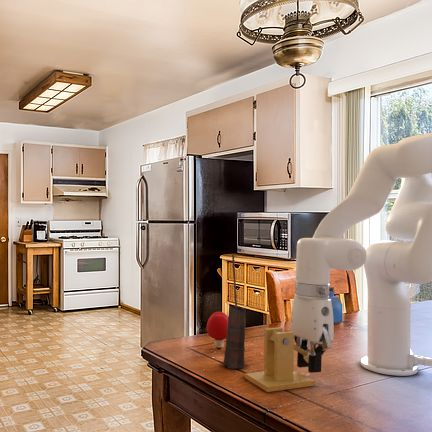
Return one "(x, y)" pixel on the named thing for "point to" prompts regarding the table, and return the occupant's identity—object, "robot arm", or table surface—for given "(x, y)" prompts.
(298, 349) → the switch lever
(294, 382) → the bracket
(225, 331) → the red rounded lump
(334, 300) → the perfume bottle
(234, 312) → the butter churn
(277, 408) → the table surface
